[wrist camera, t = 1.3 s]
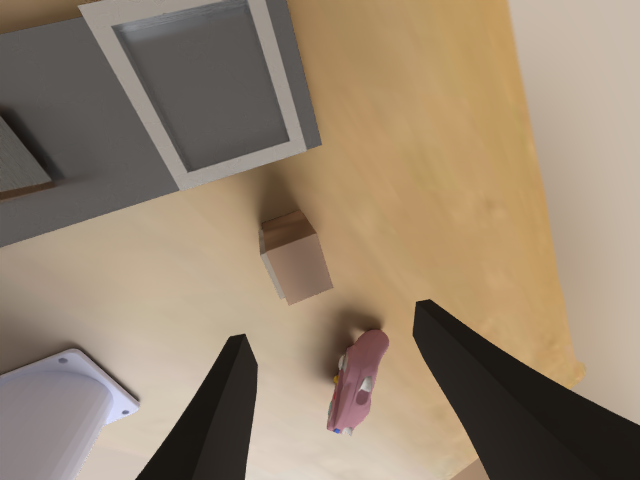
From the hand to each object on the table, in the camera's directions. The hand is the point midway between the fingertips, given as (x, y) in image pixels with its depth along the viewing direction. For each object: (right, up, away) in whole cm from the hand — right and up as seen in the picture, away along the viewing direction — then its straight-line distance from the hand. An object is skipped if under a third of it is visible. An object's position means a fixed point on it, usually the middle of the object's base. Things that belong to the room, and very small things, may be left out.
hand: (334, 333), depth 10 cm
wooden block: (-3, +4, +8) cm, 10 cm away
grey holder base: (-11, +10, +3) cm, 16 cm away
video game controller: (+2, -9, +16) cm, 19 cm away
